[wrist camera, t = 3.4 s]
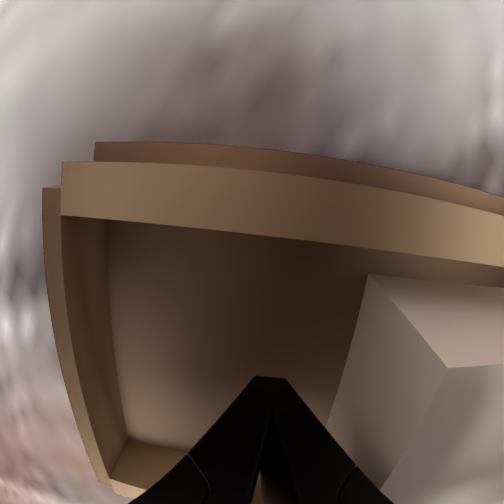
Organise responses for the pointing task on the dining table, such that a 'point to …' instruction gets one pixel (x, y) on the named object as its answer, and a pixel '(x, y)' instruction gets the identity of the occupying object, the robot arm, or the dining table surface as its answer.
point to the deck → (248, 295)
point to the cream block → (426, 391)
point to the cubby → (214, 218)
